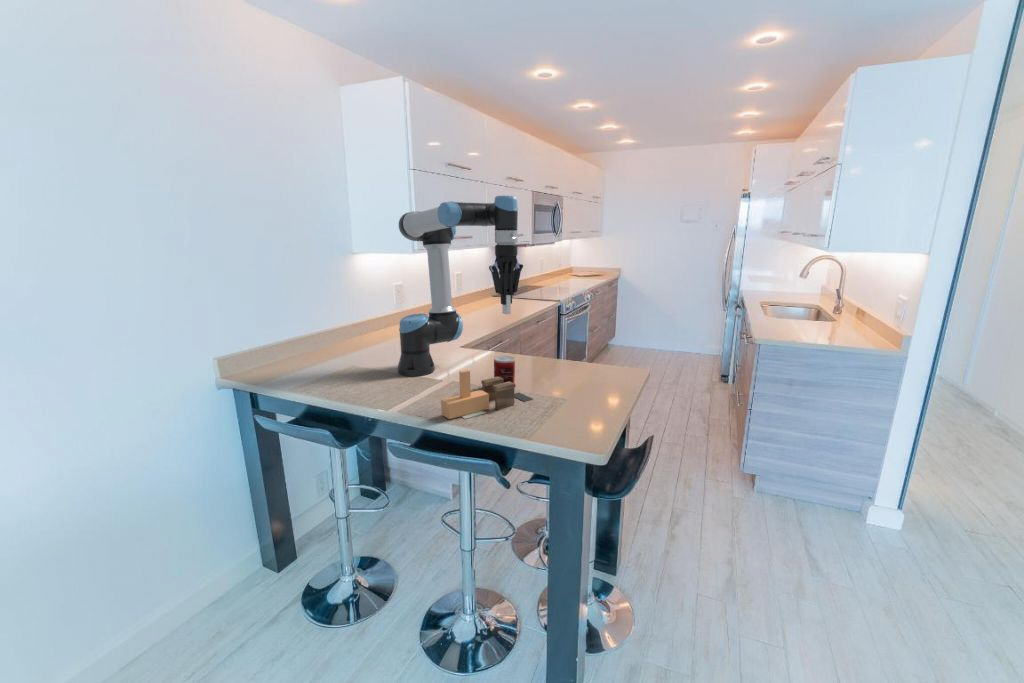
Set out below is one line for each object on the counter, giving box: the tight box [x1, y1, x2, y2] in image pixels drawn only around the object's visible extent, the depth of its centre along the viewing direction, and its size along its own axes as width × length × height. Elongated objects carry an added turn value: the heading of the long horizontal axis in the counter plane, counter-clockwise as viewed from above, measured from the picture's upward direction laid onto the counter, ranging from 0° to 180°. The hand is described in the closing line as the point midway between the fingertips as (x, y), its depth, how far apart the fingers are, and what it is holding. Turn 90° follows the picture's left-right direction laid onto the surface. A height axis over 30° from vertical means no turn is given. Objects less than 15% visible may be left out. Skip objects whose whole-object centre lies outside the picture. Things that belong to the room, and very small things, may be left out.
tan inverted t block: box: [440, 369, 490, 420], centre depth 150 cm, size 5×15×14 cm, turn 127°
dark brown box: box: [480, 376, 516, 410], centre depth 158 cm, size 10×7×8 cm
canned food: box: [493, 355, 516, 385], centre depth 175 cm, size 8×8×11 cm
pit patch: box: [514, 392, 533, 403], centre depth 165 cm, size 8×4×1 cm, turn 37°
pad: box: [460, 410, 487, 420], centre depth 152 cm, size 9×8×1 cm
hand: (506, 313), depth 161 cm, fingers closed
